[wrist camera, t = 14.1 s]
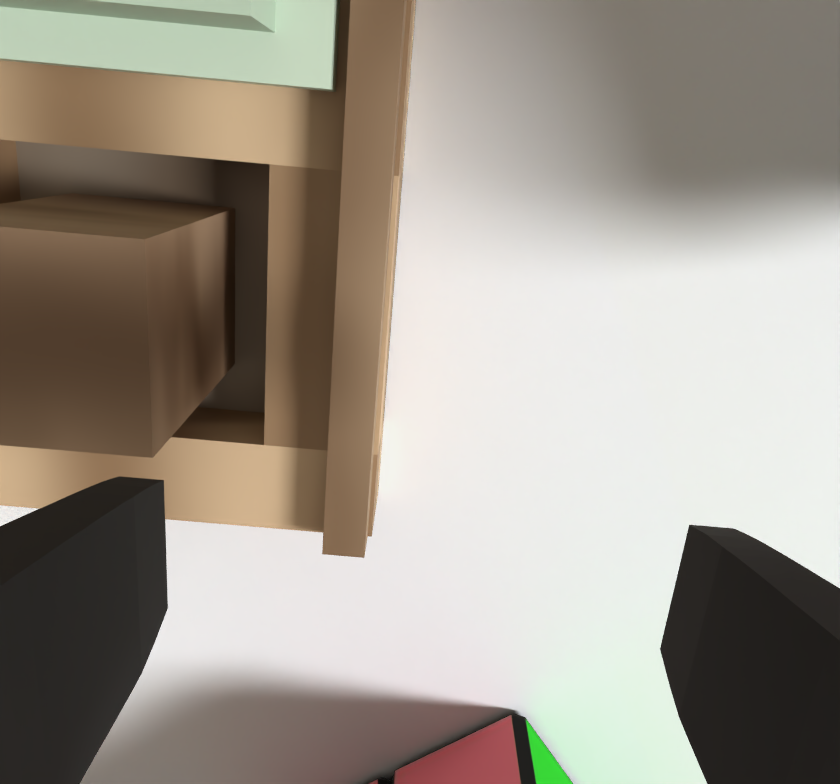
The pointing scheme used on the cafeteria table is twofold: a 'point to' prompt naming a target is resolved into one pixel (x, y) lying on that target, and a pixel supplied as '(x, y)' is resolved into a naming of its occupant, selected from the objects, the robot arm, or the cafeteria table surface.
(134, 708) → the cafeteria table surface
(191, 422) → the tan wooden frame
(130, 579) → the robot arm
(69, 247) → the block
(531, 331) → the cafeteria table surface
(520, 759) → the puzzle cube
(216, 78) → the cover
